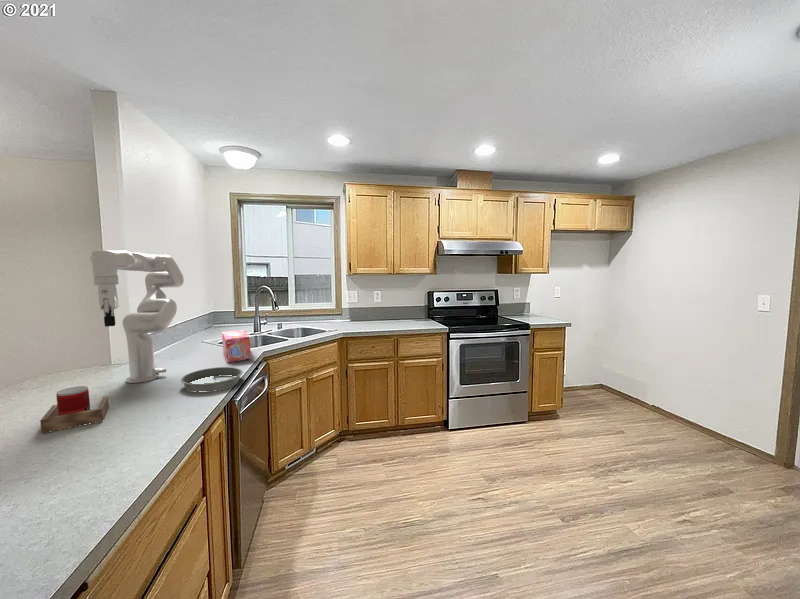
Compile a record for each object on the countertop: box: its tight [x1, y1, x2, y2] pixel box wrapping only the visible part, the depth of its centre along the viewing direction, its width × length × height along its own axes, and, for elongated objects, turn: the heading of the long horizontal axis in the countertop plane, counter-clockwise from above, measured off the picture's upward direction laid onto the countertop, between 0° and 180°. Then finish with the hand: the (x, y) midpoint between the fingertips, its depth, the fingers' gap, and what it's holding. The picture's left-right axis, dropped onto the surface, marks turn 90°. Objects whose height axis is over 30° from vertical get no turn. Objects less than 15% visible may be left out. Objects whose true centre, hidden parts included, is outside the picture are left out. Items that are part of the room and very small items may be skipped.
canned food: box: [55, 385, 91, 415], centre depth 117 cm, size 8×8×11 cm
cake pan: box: [180, 366, 244, 393], centre depth 154 cm, size 25×25×4 cm
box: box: [221, 329, 252, 363], centre depth 200 cm, size 27×13×14 cm, turn 32°
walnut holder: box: [39, 395, 110, 434], centre depth 118 cm, size 15×14×4 cm
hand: (110, 325), depth 138 cm, fingers closed
